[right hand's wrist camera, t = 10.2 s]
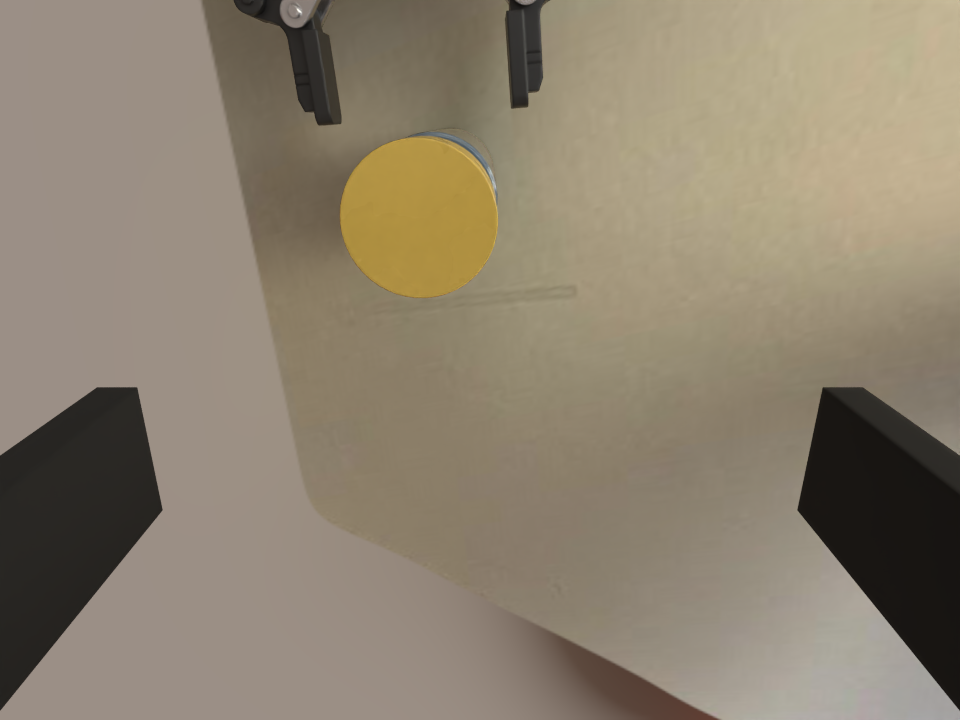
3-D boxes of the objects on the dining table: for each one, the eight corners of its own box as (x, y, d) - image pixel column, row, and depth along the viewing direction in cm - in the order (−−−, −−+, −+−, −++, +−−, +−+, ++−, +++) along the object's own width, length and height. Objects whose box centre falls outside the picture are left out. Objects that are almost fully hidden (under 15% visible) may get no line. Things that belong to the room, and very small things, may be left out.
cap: (502, 141, 20) (504, 143, 18) (491, 282, 22) (491, 303, 19) (356, 130, 20) (338, 131, 18) (356, 273, 22) (339, 293, 19)
